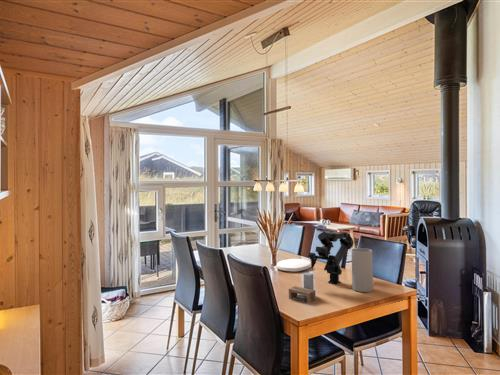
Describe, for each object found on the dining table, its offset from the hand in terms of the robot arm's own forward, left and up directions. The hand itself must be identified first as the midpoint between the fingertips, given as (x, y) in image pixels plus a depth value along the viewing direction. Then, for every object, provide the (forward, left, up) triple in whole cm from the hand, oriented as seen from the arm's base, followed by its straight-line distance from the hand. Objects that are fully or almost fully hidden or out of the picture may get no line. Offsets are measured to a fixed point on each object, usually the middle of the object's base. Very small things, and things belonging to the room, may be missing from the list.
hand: (318, 269), depth 212 cm
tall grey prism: (+15, +1, -14) cm, 20 cm away
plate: (-33, -47, -14) cm, 59 cm away
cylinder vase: (-20, +19, -14) cm, 31 cm away
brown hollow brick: (+18, +2, -14) cm, 23 cm away
